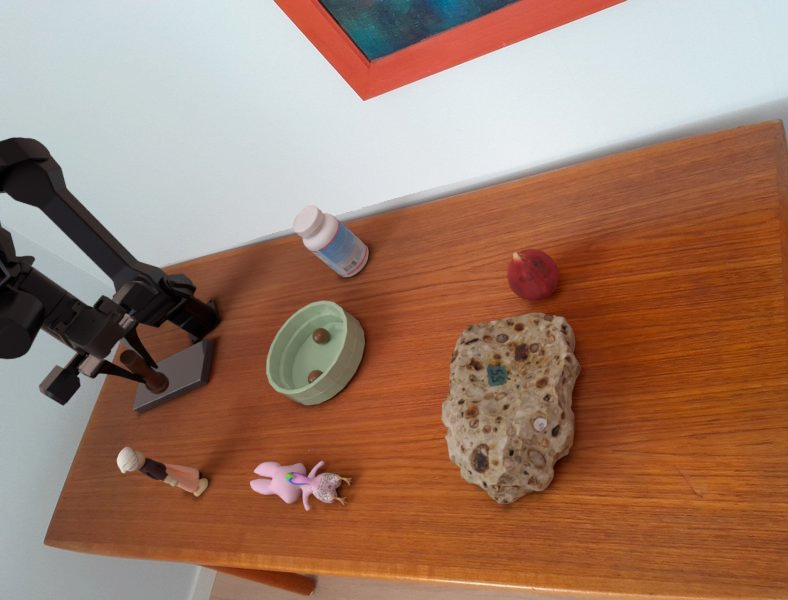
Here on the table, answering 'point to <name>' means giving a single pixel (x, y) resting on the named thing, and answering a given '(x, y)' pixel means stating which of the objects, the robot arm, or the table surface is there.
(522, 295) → the onion
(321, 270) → the table surface
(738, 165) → the table surface
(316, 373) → the hazelnut
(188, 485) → the grandmother figurine
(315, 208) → the pill bottle
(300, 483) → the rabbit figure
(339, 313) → the bowl
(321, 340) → the hazelnut
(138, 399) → the rest
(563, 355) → the rock
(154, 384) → the muddler
